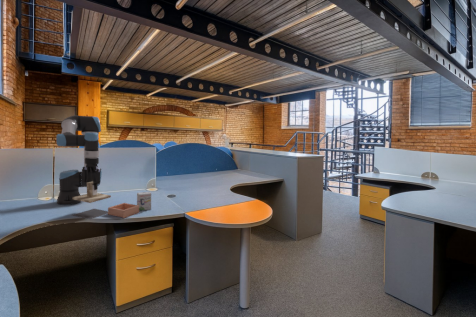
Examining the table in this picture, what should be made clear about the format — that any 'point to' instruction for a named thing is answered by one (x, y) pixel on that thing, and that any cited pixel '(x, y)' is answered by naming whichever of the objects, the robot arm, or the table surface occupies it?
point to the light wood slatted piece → (89, 197)
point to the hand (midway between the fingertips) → (92, 194)
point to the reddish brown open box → (123, 210)
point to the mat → (91, 213)
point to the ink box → (144, 200)
